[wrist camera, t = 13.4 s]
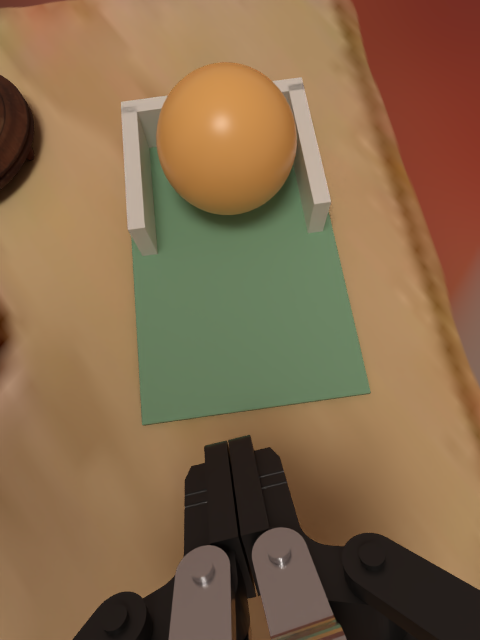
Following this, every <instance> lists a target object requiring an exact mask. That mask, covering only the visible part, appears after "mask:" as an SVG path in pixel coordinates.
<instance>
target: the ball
mask: <svg viewBox="0 0 480 640" xmlns="http://www.w3.org/2000/svg"><path fill="white" fill-rule="evenodd" d="M156 146H157V153H158V157H159V161H160V164H161V167H162V169H163V172H164V174H165V176H166V178H167V180H168V181H169V183H170V184H171V186H172V187H173V188H174V190H175V191H176V192H177V193H178V194H179V195H180V196H181V197H182V198H183V199H185V200H186V201H187V202H188V203H190V204H192V205H193V206H195V207H197V208H199V209H201V210H203V211H206V212H209V213H213V214H218V215H236V214H242V213H245V212H249V211H251V210H254V209H256V208H258V207H260V206H261V205H263V204H265V203H266V202H267V201H269V200H270V199H271V198H272V197H273V196H274V195H275V194H276V193H277V192H278V191H279V190H280V188H281V187H282V186H283V184H284V183H285V181H286V179H287V178H288V176H289V174H290V171H291V169H292V166H293V163H294V159H295V155H296V148H297V133H296V125H295V120H294V116H293V113H292V110H291V108H290V105H289V104H288V102H287V100H286V98H285V96H284V95H283V93H282V92H281V91H280V89H279V88H278V87H277V86H276V85H275V84H274V83H273V82H272V81H271V80H270V79H269V78H268V77H267V76H265V75H264V74H262V73H261V72H259V71H257V70H255V69H253V68H251V67H249V66H245V65H242V64H238V63H231V62H221V63H213V64H209V65H206V66H203V67H201V68H198V69H196V70H194V71H193V72H191V73H189V74H188V75H187V76H185V77H184V78H183V79H182V80H180V81H179V82H178V84H177V85H176V86H175V87H174V88H173V89H172V90H171V92H170V93H169V95H168V96H167V98H166V100H165V102H164V104H163V106H162V109H161V112H160V114H159V119H158V123H157V131H156Z"/></svg>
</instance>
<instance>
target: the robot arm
mask: <svg viewBox="0 0 480 640" xmlns="http://www.w3.org/2000/svg"><path fill="white" fill-rule="evenodd" d="M228 443H229V446H228ZM228 443H227V441H223V442H219V443H215V444H211V445H206V446H205V447H204V451H205V463H203V464H199V465H195V466H191V468H190V470H189V473H188V475H187V477H186V479H185V518H184V558H183V559H182V560H181V562H180V563H179V565H178V567H177V570H176V574H175V576H174V577H173V578H172V579H171V580H170V581H169V582H168V583H167V584H166V585H164V586H163V587H161V588H160V589H158V590H156V591H155V592H153V593H151V594H150V595H148V596H146V597H145V598H143V599H142V597H141V596H139V595H138V594H136V593H134V592H121V593H118V594H115V595H113V596H111V597H110V598H108V599H107V600H105V601H104V602H103V603H102V604H101V605H100V606H99V607H98V608H97V610H96V611H95V612H94V613H93V615H92V616H91V617H90V618H89V620H88V621H87V622H86V623H85V625H84V626H83V627H82V628H81V630H80V631H79V632H78V633H77V635H76V636H75V637H74V638H73V640H252V633H251V627H250V615H249V608H248V600H247V599H248V598H252V597H256V593H255V586H256V589H257V592H258V596H260V595H261V598H262V603H263V607H264V611H265V615H266V619H267V624H268V628H269V632H270V636H271V640H480V590H478V589H477V588H475V587H473V586H471V585H469V584H468V583H466V582H464V581H462V580H461V579H459V578H457V577H455V576H454V575H452V574H450V573H448V572H447V571H445V570H443V569H441V568H440V567H438V566H436V565H434V564H432V563H431V562H429V561H427V560H425V559H424V558H422V557H420V556H418V555H417V554H415V553H413V552H411V551H410V550H408V549H406V548H404V547H402V546H401V545H399V544H397V543H395V542H394V541H392V540H390V539H388V538H387V537H384V536H382V535H379V534H375V533H363V534H359V535H356V536H354V537H353V538H351V539H350V540H349V541H348V542H347V543H346V545H345V546H344V547H343V546H329V545H323V544H320V543H317V542H315V541H313V540H312V539H310V538H309V537H308V536H306V535H305V533H304V532H303V531H302V529H301V528H300V525H299V522H298V519H297V515H296V512H295V508H294V505H293V502H292V498H291V495H290V491H289V488H288V484H287V481H286V477H285V474H284V471H283V467H282V464H281V460H280V457H279V456H278V455H277V454H276V453H275V452H274V451H273V450H272V449H271V448H270V447H269V448H265V449H260V450H256V451H254V449H253V444H252V440H251V436H250V435H247V436H243V437H239V438H235V439H231V440H228ZM253 579H254V580H253ZM254 582H255V586H254Z"/></svg>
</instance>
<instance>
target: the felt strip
mask: <svg viewBox="0 0 480 640" xmlns="http://www.w3.org/2000/svg"><path fill="white" fill-rule="evenodd" d="M149 150H150V163H151V175H152V188H153V201H154V214H155V226H156V239H157V252H158V254H155V255H148V256H142V254H141V252H140V251H139V249H138V247H137V245H136V243H135V242H134V240H133V238H132V236H131V238H132V255H133V273H134V291H135V308H136V326H137V343H138V361H139V378H140V396H141V413H142V425H150V424H157V423H164V422H171V421H178V420H185V419H192V418H200V417H207V416H214V415H221V414H228V413H235V412H242V411H249V410H257V409H264V408H271V407H278V406H285V405H292V404H299V403H306V402H314V401H321V400H328V399H335V398H342V397H349V396H356V395H363V394H370V393H371V392H370V388H369V383H368V379H367V375H366V371H365V366H364V362H363V358H362V353H361V349H360V345H359V341H358V336H357V332H356V328H355V323H354V319H353V315H352V310H351V306H350V302H349V298H348V293H347V289H346V285H345V280H344V276H343V272H342V268H341V263H340V259H339V255H338V250H337V246H336V242H335V237H334V233H333V229H332V225H331V220H330V216H329V212H328V215H327V218H326V222H325V225H324V229H323V231H321V232H314V233H308V232H307V227H306V223H305V218H304V213H303V208H302V204H301V199H300V194H299V189H298V185H297V180H296V175H295V170H294V166H292V169H291V171H290V174H289V176H288V178H287V179H286V181H285V183H284V184H283V186H282V187H281V188H280V190H279V191H278V192H277V193H276V194H275V195H274V196H273V197H272V198H271V199H270V200H269V201H267V202H266V203H265V204H263V205H261V206H260V207H258V208H256V209H254V210H251V211H249V212H245V213H242V214H236V215H218V214H213V213H209V212H206V211H203V210H201V209H199V208H197V207H195V206H193V205H192V204H190V203H188V202H187V201H186V200H185V199H183V198H182V197H181V196H180V195H179V194H178V193H177V192H176V191H175V190H174V188H173V187H172V186H171V184H170V183H169V181H168V180H167V178H166V176H165V174H164V172H163V169H162V167H161V164H160V161H159V157H158V153H157V147H152V148H149Z"/></svg>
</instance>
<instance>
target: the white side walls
mask: <svg viewBox="0 0 480 640" xmlns="http://www.w3.org/2000/svg"><path fill="white" fill-rule="evenodd" d="M272 82H273V83H274V84H275V85H276V86H277V87H278V88H279V89H280V91H281V92H282V93H283V95H284V96H285V98H286V100H287V102H288V104H289V105H290V108H291V110H292V113H293V116H294V120H295V125H296V133H297V148H296V155H295V159H294V163H293V166H294V170H295V175H296V180H297V185H298V189H299V194H300V199H301V204H302V208H303V213H304V218H305V223H306V227H307V232H308V233H314V232H321V231H323V229H324V225H325V222H326V218H327V215H328V211H329V208H330V204H331V199H330V195H329V191H328V187H327V182H326V178H325V174H324V170H323V165H322V161H321V157H320V153H319V149H318V144H317V140H316V136H315V132H314V128H313V123H312V119H311V115H310V111H309V106H308V102H307V98H306V94H305V90H304V85H303V81H302V77H300V78H293V79H285V80H278V81H272ZM166 98H167V96H161V97H154V98H146V99H139V100H132V101H124V102H121V112H122V131H123V149H124V168H125V186H126V204H127V223H128V231H129V233H130V235H131V236H132V238H133V240H134V242H135V243H136V245H137V247H138V249H139V251H140V252H141V254H142V256H148V255H155V254H158V252H157V239H156V226H155V214H154V201H153V188H152V175H151V163H150V150H149V148H152V147H157V146H156V131H157V123H158V119H159V114H160V112H161V109H162V106H163V104H164V102H165V100H166Z"/></svg>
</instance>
